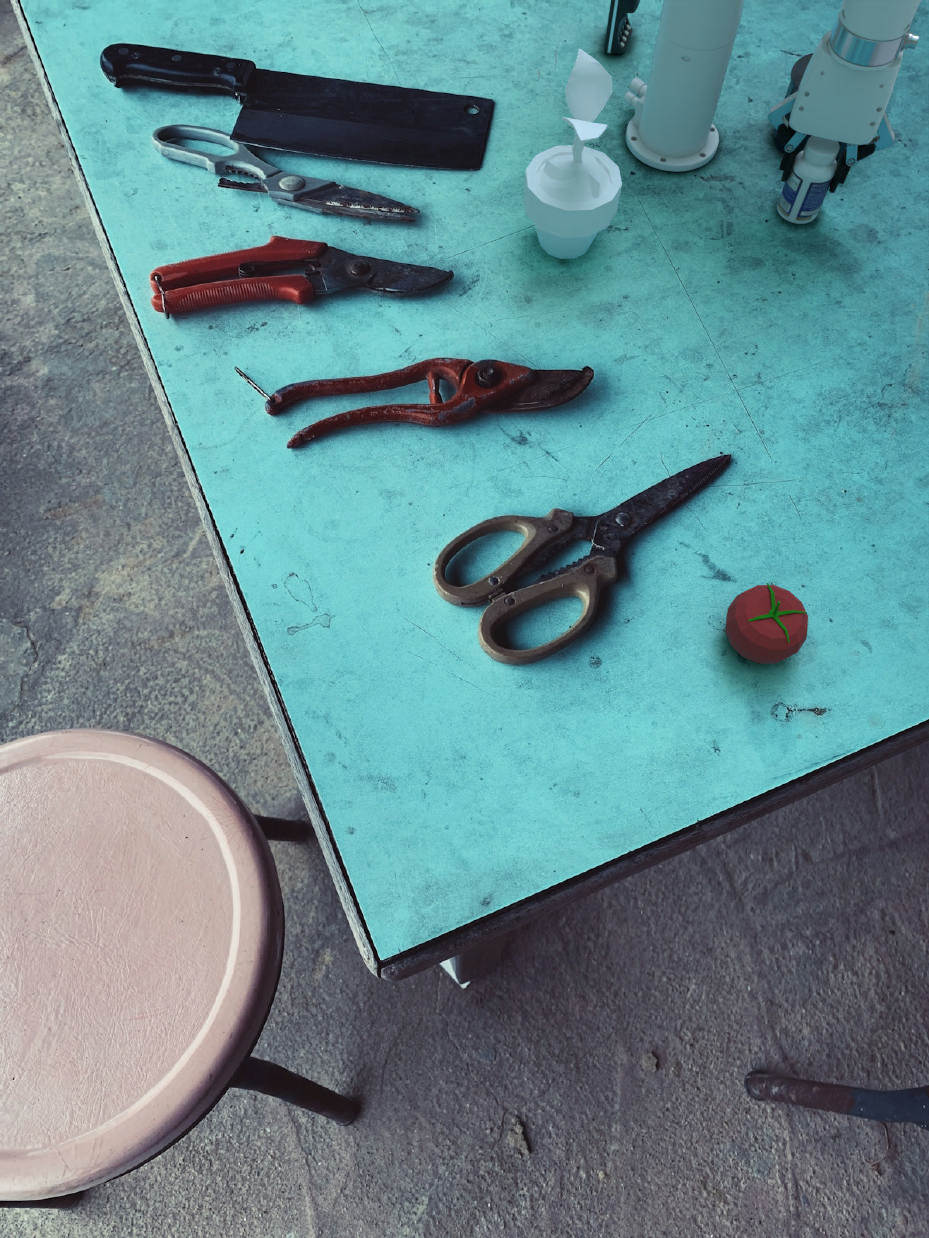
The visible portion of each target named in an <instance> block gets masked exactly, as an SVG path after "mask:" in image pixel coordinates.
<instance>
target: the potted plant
mask: <svg viewBox="0 0 929 1238" xmlns="http://www.w3.org/2000/svg"><path fill="white" fill-rule="evenodd" d="M558 46H559V43H557V45H556V48H559V47H558ZM554 51H555V60H554V61H555V62H554V70H556V68H557V64H558V49H556V50H554ZM536 73H537V82H539V81H540V79H541V77H542V76H541V73H540V69H538V70H536ZM548 86H549V85H547V88H546V89H545V90H546V91H548V89H549V87H548ZM564 94H565V100H566V105H567V107H568V110H569V112H570V115H571V117H572V118H570V117H565V116H561V118H560V119H561V120H562V121H565V122H567V124H569V126H571V127H572V128H573V131H574V138H573V141H572V144H571V145H570V144H567V145H555V146H553V147H552V146H551V147H550V148H548V149H545V150H544V151H541V152H538V153H537V154H535V156H534V157H533V158H532V160H531V161H530V163H529V164H528V166H527V167H526V168H525V172H524V184H523V185H524V186H523V206H524V213H525V214H524V215H525V216H526V217H527V218H528V219H529V220H530V221H531V222H532V223H533V225H534V229H535V231H536V232H535V233H536V234H537V238H538V243H539V245H540V247H541V248H542V249H543V250H544V251H545V252H546V253H547V255H549V256H551V257H554V258H557V259H560V260H562V259H563V260H567V259H569V260H570V259H576V258H579V257H580V256H583V255H585V254H586V253H587V252H588V250H589V248H590V246H591V245H592V243H593V242H594V240H595V238H596V237H597V235H598V233H599V232H601V231H603V230H606V229H607V228H608V227H609V225H610V224H611V222H612V221H613V219H614V217H615V216H616V214H617V213H618V207H619V203H620V198H621V192H622V186H623V182H622V176H621V172H620V167H619V165H617V163H615V162H614V161H613V160H612V159H611V158H610V157H609V156H608V155H607V154H606V153H605V152H603V151H600V150H597V149H594V148H592V147H588V146H585V145H586V143H587V142H593V141H598V140H599V139H600V138H601V136H603V135H604V133H605V132H606V131H607V129H609V125H608V124H605V123H599V122H595V120H596V119H597V117H598V116H599V115H600V114H601V112H602V111H603V109H604V108H605V107H606V105H607V103H608V101H609V99H610V98H611V96H612V95H613V77H612V75H611V74H610V73H609V72H608V71H607V70H606V69H605V68H604V66H603V65H602V64H601V63H600V62H599V61H598V60H597V59H595V58H594V57H593V56H592V55H590V54H588V53H587V52H586V51H584V50H583V49H582V48H579V49H578V52H577V56H576V59H575V63H574V65H573V67H572V69H571V71H570V74H569V76H568V80H567V82H566V86H565V88H564ZM545 99H546V100H547V99H548V95H546V98H545Z"/></svg>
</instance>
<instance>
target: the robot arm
mask: <svg viewBox="0 0 929 1238" xmlns="http://www.w3.org/2000/svg"><path fill="white" fill-rule="evenodd" d="M662 2H663V3H662V7H661V12H660V17H659V23H658V28H657V34H656V39H655V44H654V48H653V55H652V58H651V63H650V69H649V73H648V78H647V83H646V82H645V81H643V80H642V79H640V78H639V77H637V76H636V77H634V78H633V79H632V80H631V81H630V83H629V86H628V91H627V92H626V93H625V94H624V95H623V102H624V103H626V104H627V105H628V106H630V107H631V108H632V107H633V109H634V115H633V116H632V117H631V119H629V122H628V123H627V126H626V133H625V142H626V146H627V148H628V149H629V151H630V152H631V154H632V155H633V156H634V157H635V158H636V159H637V160H639V161H640V162H641V163H643V164H645V165H647V166H649V167H652V168H654V169H657V170H661V171H664V172H673V173H675V172H676V173H678V172H687V171H693V170H695V169H698V168H701V167H703V166H705V165H707V164H708V163H709V162H710V161H711V160H713V158H714V156H715V155H716V153H717V150H718V147H719V143H720V133H719V131H718V129H717V127H716V125H715V123H714V118H715V115H716V111H717V107H718V104H719V101H720V96H721V93H722V89H723V86H724V82H725V79H726V74H727V71H728V68H729V64H730V60H731V57H732V53H733V50H734V45H735V43H736V38H737V35H738V30H739V27H740V23H741V20H742V19H741V18H742V17H743V16H742V15H743V11H744V4H745V0H663V1H662ZM921 2H922V0H843V1H842V3H841V5H840V9H839V12H838V14H837V16H836V20H835V22H834V25H833V27H832V30H829V31H827V32H825V33H824V34H823V35H822V37H821V38H820V40H819V42H818V44H817V46H816V47H815V49H814V51H813V52H812V53H813V55H812V57H811V59H810V61H809V64H808V66H807V68H806V70H805V73H804V75H803V78H802V80H801V83H800V85H799V88H798V90H797V92H795V93H793V94H792V95H790V96H789V97H787V98H786V99H785V98H784V99H783V100H780V101H779V102H777V103H776V104H774V105H773V106H771V107H770V108H769V109H768V114H767V120H768V121H769V122H770V124H771V125H772V127H773V129H774V128H776V130H777V133H778V135H779V137H780V139H781V140H782V142H783V144H784V145H785V152H784V154H782V157H781V160H780V163H779V166H778V170H779V171H782V175H781V179H780V182H783V183H785V182H786V181H787V180H788V177H789V174H790V172H791V169H792V166H793V164H794V161H795V159H796V156H797V152H798V148H799V144H800V142H801V141H802V140H803V139H804V138H805V136H806V135H807V134H808V135H813V136H817V137H821V138H826V139H831V140H835V141H840V142H844V143H847V147H846V149H845V151H844V152H842V154H841V157H840V158H839V159H838V162H837V170H836V173H835V175H834V177H833V180H832V182H831V184H830V187H829V189H828V192H829V193H831V194H835V193H836V190H837V188H838V186H839V184H840V185H844V184H845V182H846V180H847V177H848V175H849V173H850V171H851V168H852V167H854V166H856V164H857V162H859V161H861V160H863V159H866V158H867V157H870V156H872V155H873V154H874V153H875V152H879V151H881V150H883V149H886V148H889V147H891V146H893V144H894V142H895V137H896V135H895V132H894V130H893V127H892V125H891V124H892V123H891V122H890V120H889V117H888V114H887V112H886V109H887V107H888V104H889V102H890V100H891V96H892V93H893V91H894V87H895V84H896V82H897V81H896V80H897V78H898V74H899V72H900V69H901V66H902V62H903V57H904V51H903V50H908V49H909V50H916V47H917V45H918V42H919V39H920V35H919V34H914V32H913V31H911V27H910V26H911V24H912V22H913V20H914V17H915V16H916V13H917V11H918V8H919V7H920V4H921ZM789 112H791V116H790V120H788V119H786V118H785V116H784V115H786V114H788V113H789ZM876 134H877V135H876Z"/></svg>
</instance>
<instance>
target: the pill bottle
mask: <svg viewBox="0 0 929 1238" xmlns="http://www.w3.org/2000/svg"><path fill="white" fill-rule="evenodd" d="M839 148H840V147H839V143H838V142H837V141H835V140H831V139H826V138H821V137H817V136H811V137H810V138H809V139H808V140H807V143H806V145H805V147H804V150H803V151H801V152H800V153H798V154H797V156H796V159H795V161H794V164H793V166H792V169H791V172H790V174H789V177H788V180H787V181H785V182H784V184H783V188H782V190H781V193H780V195H779V199H778V201H777V205H776V209H777V213H778V214H779V215H780V216H781V218H783V220H785V221H787V222H789V223H793V224H797V225H804V224H809V223H811V222H813V221H814V220H815V219H816V218H817V216H818V215H819V212H820V210H821V207H822V206H823V203H824V201H825V199H826V196H827V193H828V192H829V188H830V184H831V182H832V180H833V177H834V175H835V173H836V170H837V164H838V162H837V160H835V159H836V157H837V154H838V151H839Z"/></svg>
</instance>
